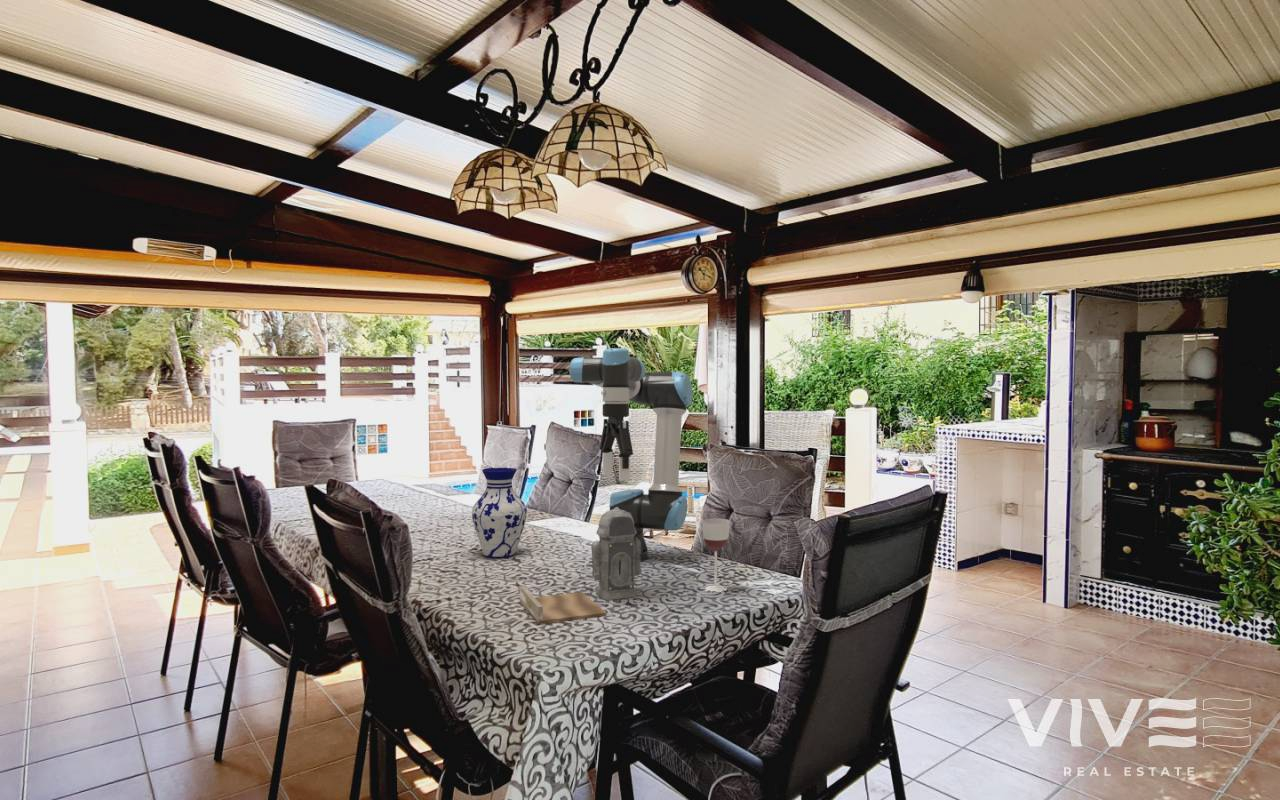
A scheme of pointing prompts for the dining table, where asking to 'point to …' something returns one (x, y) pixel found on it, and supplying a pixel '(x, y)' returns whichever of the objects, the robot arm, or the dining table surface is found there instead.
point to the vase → (499, 514)
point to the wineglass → (715, 541)
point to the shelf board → (559, 607)
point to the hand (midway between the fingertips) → (615, 477)
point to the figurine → (616, 555)
